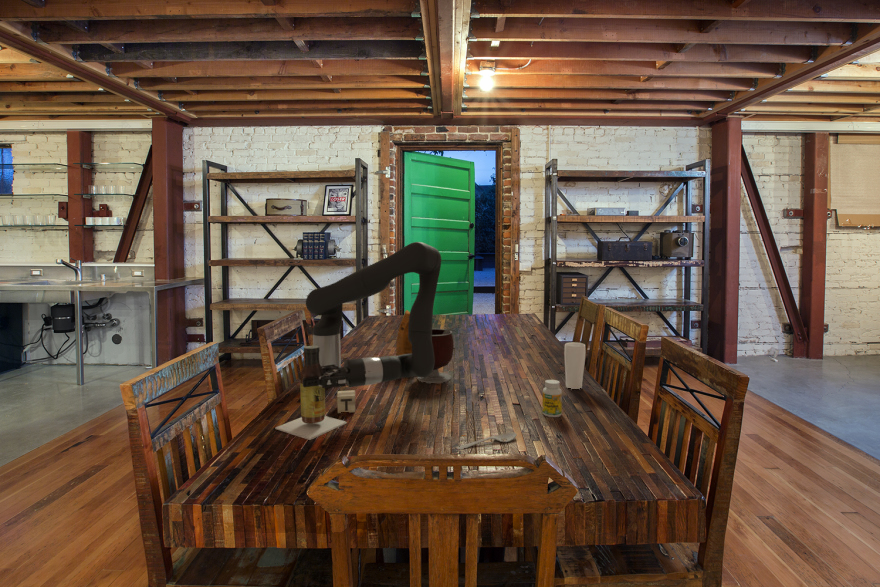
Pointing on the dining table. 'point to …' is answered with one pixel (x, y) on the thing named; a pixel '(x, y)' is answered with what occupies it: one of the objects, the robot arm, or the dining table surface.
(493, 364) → the dining table surface
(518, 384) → the dining table surface
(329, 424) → the beige mat
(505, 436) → the spoon
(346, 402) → the letter block
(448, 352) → the mate gourd
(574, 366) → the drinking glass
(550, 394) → the supplement bottle
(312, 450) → the dining table surface
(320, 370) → the sauce bottle
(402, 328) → the coffee package
